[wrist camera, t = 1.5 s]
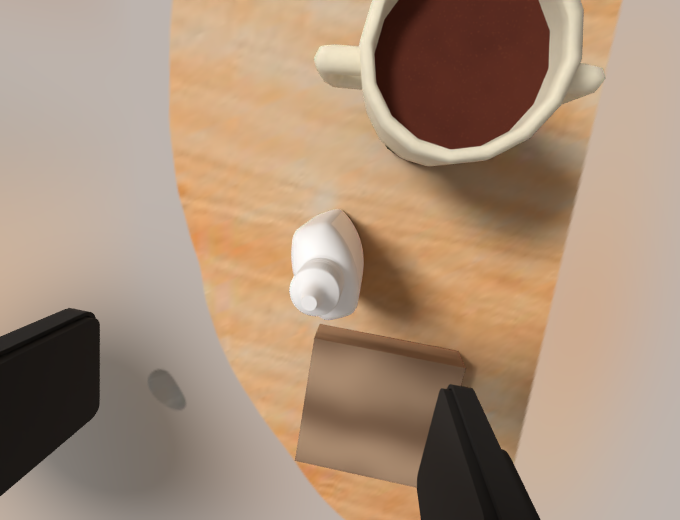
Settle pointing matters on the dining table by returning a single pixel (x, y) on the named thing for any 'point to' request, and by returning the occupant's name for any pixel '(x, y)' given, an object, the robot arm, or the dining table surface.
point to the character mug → (463, 73)
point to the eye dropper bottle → (327, 266)
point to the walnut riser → (372, 403)
